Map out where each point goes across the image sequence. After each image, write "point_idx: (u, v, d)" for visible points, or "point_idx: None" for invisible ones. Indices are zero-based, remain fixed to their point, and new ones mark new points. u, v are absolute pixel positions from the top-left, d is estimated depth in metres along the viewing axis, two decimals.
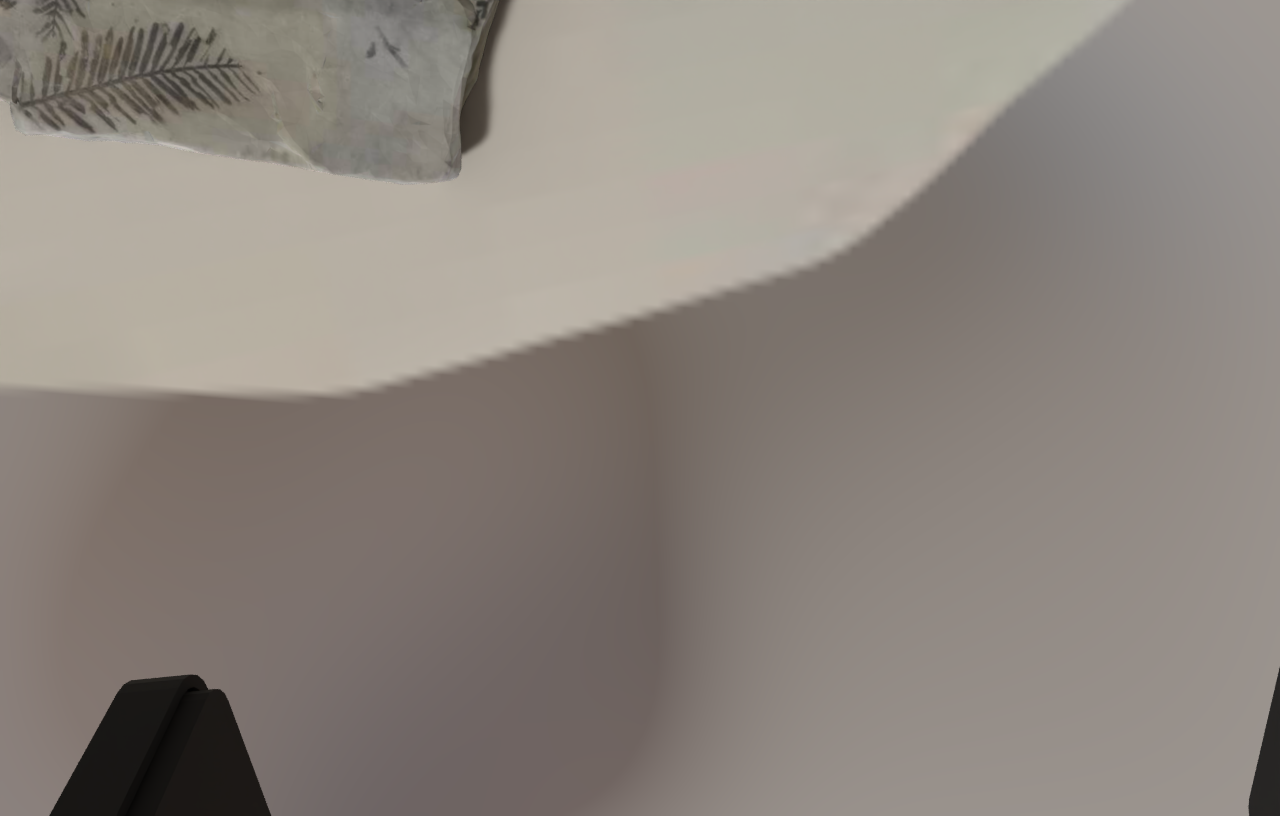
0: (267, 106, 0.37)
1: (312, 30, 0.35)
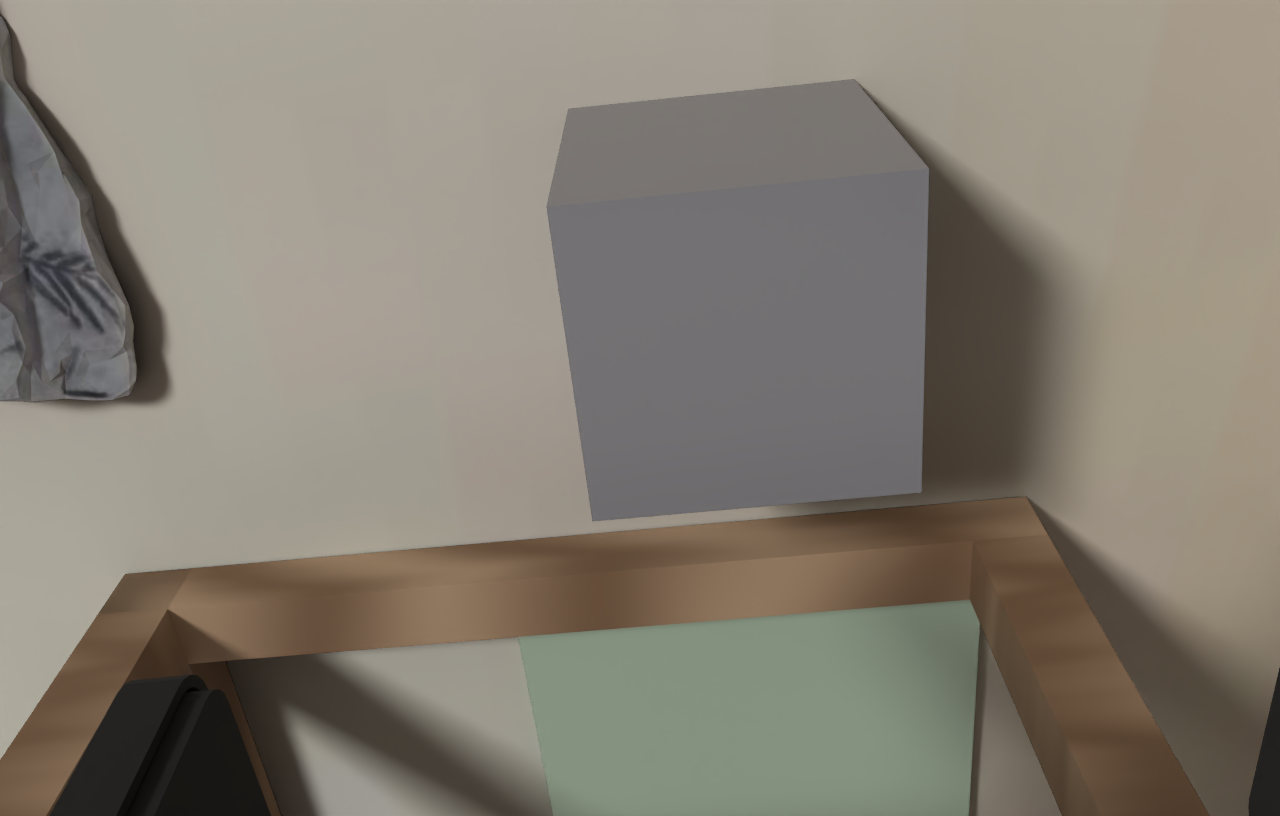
0: None
1: None
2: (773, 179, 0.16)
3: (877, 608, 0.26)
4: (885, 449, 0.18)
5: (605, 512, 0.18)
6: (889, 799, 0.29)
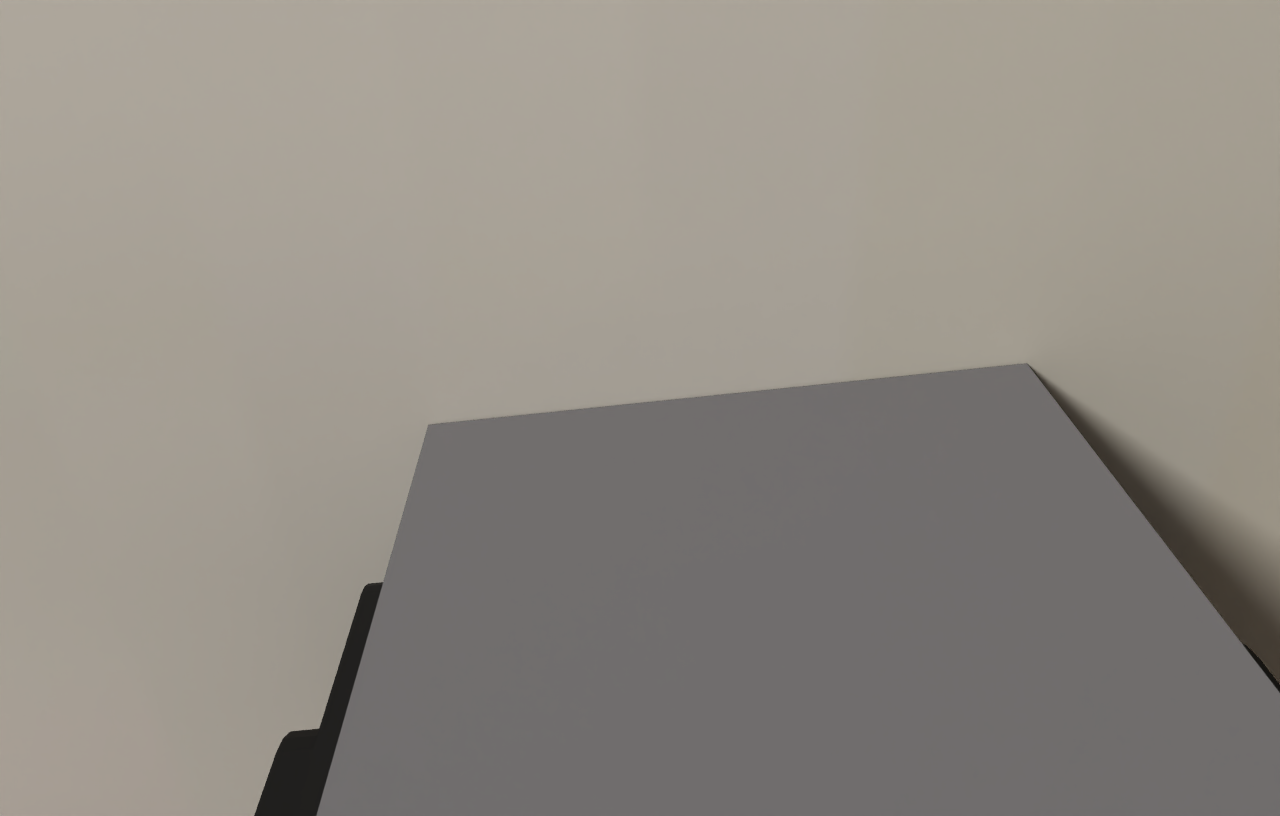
0: None
1: None
2: None
3: None
4: None
5: None
6: None
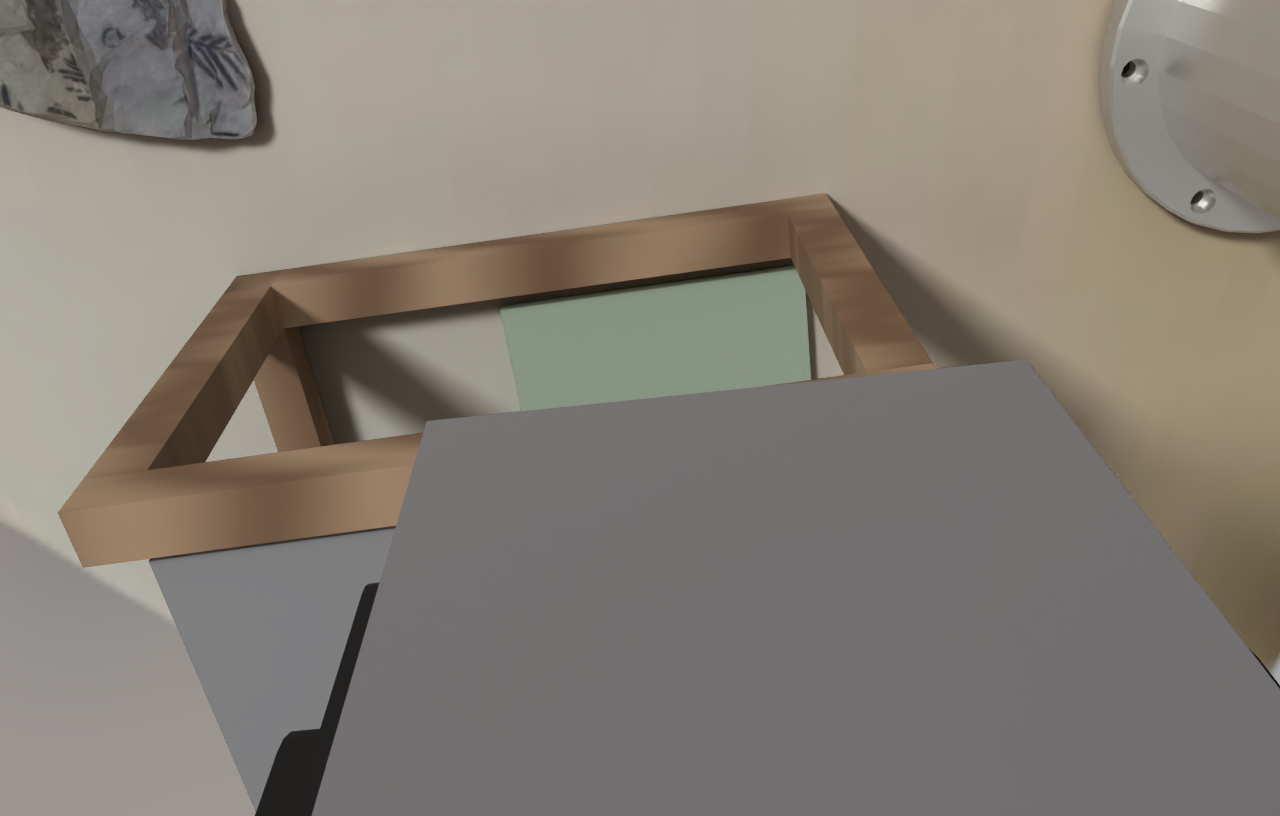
0: None
1: None
2: None
3: (736, 278, 0.39)
4: None
5: None
6: None
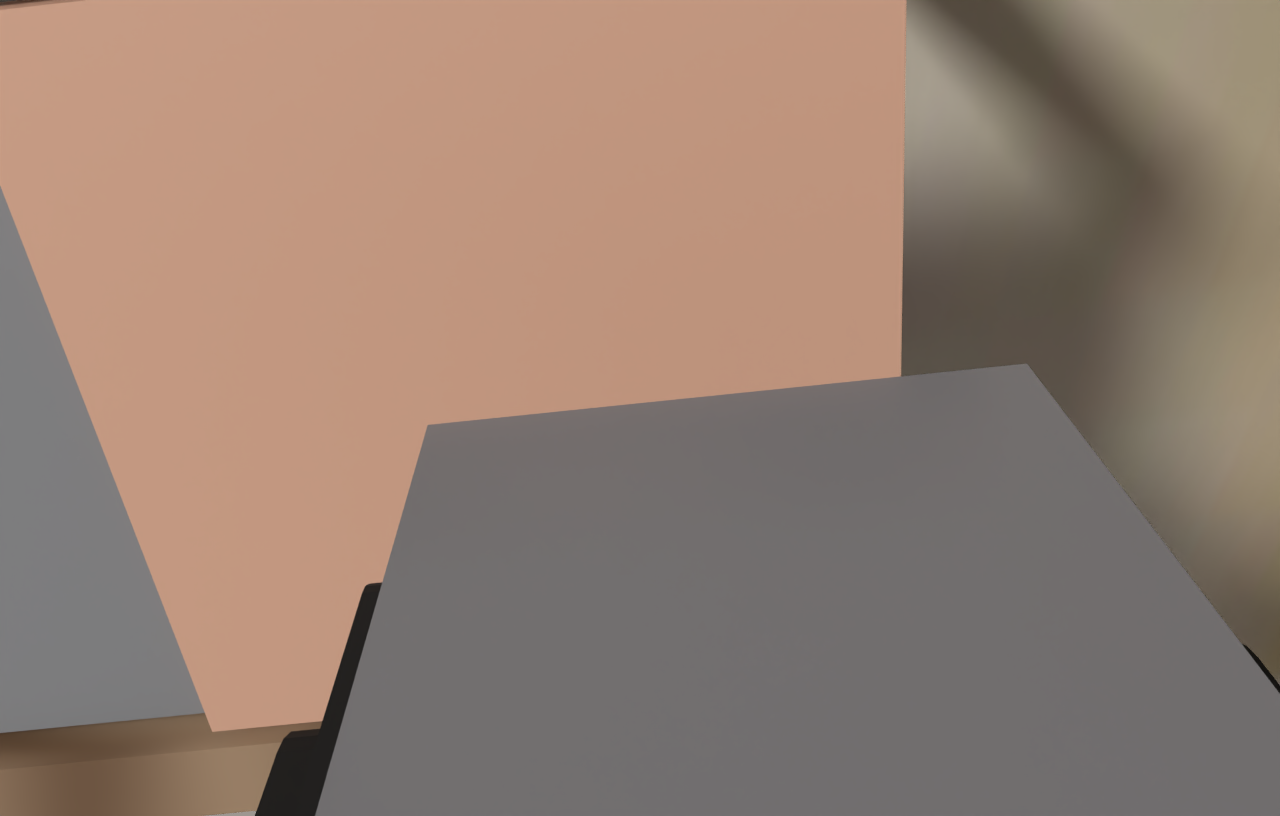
0: None
1: None
2: None
3: None
4: None
5: None
6: None
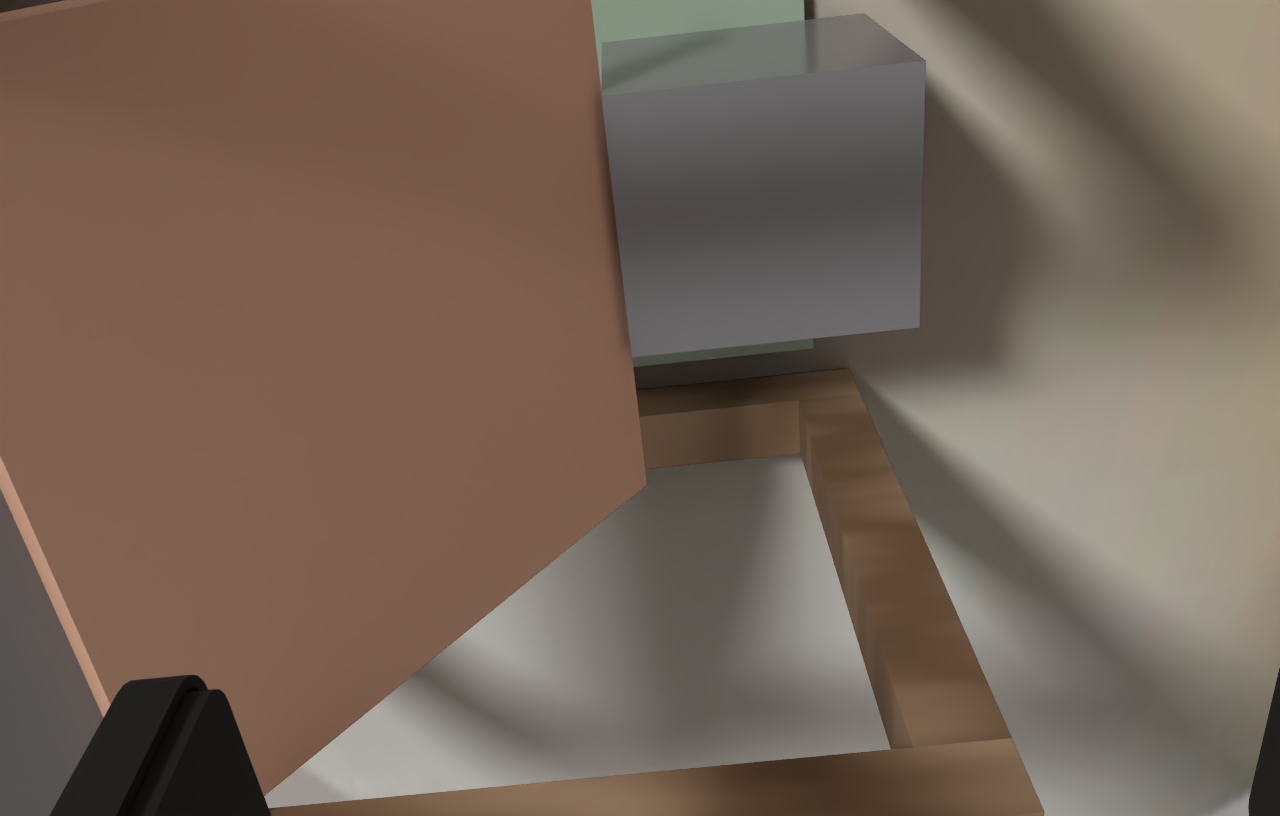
0: None
1: None
2: (875, 31, 0.23)
3: None
4: None
5: None
6: None
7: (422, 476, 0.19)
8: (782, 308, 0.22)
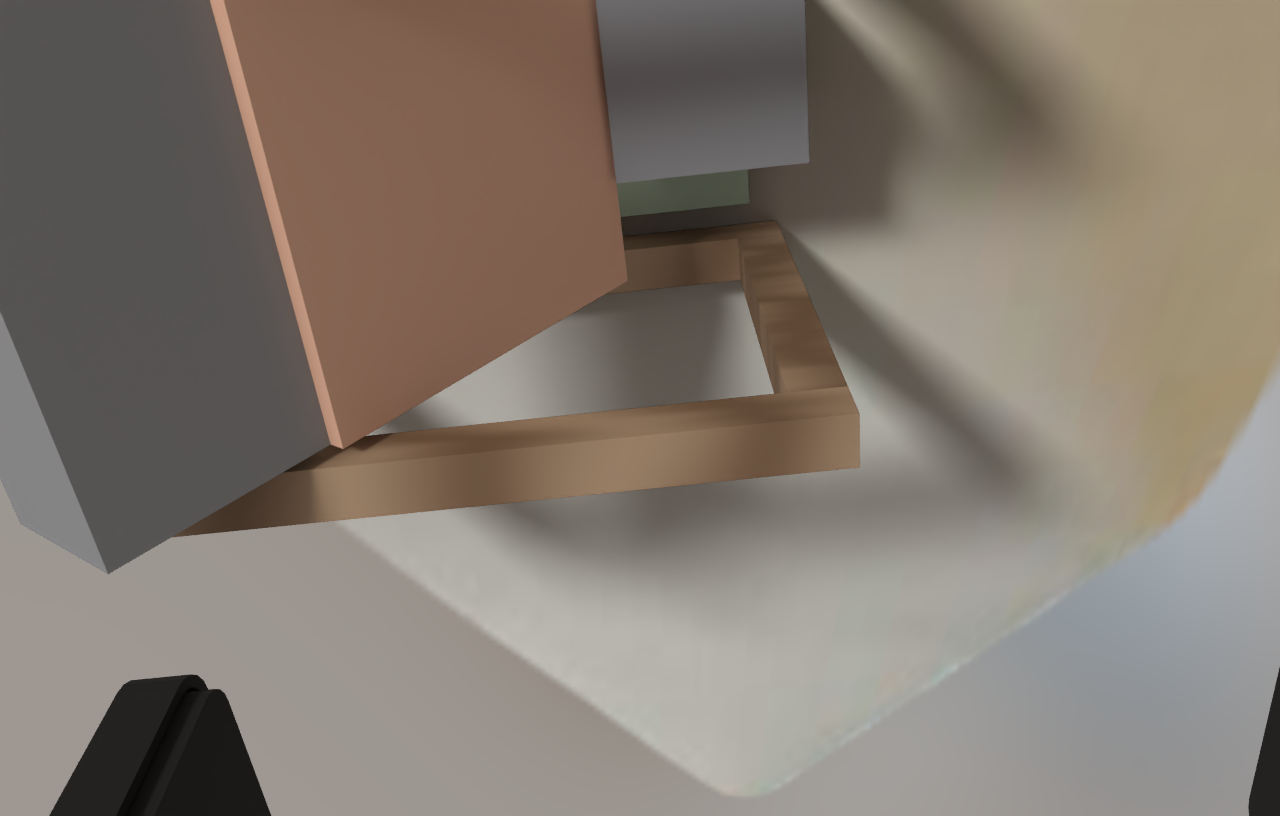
0: None
1: None
2: None
3: None
4: None
5: None
6: None
7: (482, 236, 0.30)
8: (717, 148, 0.34)
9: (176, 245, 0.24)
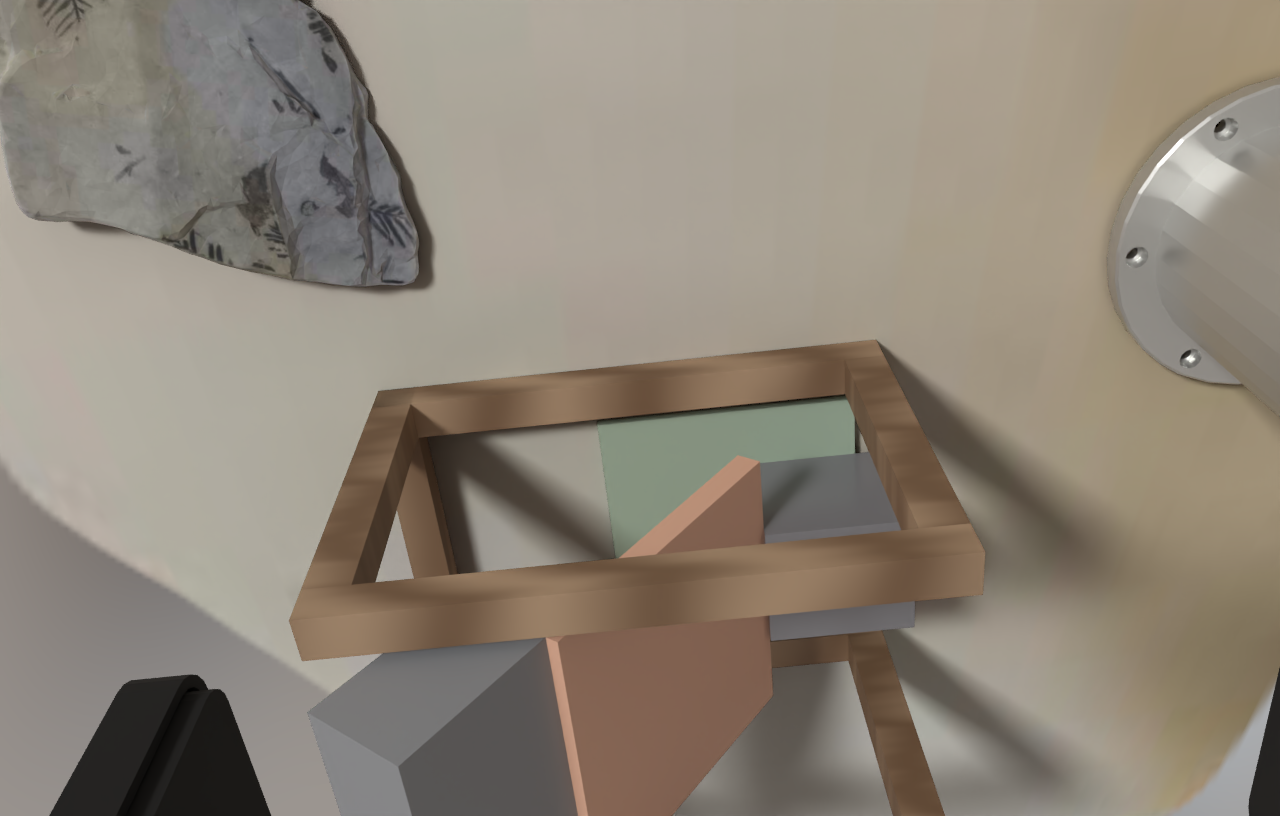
0: (46, 43, 0.38)
1: (129, 94, 0.39)
2: None
3: (797, 405, 0.47)
4: None
5: None
6: None
7: (688, 720, 0.42)
8: (846, 619, 0.46)
9: None
